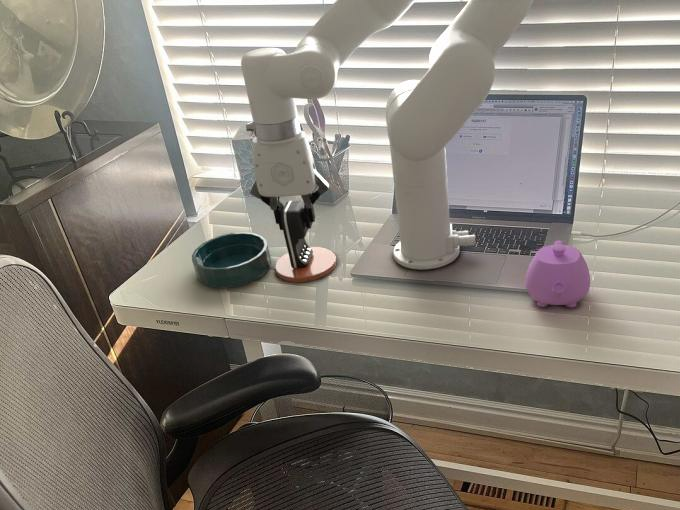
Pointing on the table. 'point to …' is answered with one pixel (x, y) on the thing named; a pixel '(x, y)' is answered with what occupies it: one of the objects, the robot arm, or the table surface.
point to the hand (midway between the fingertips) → (296, 225)
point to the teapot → (558, 276)
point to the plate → (317, 267)
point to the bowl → (231, 259)
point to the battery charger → (296, 234)
